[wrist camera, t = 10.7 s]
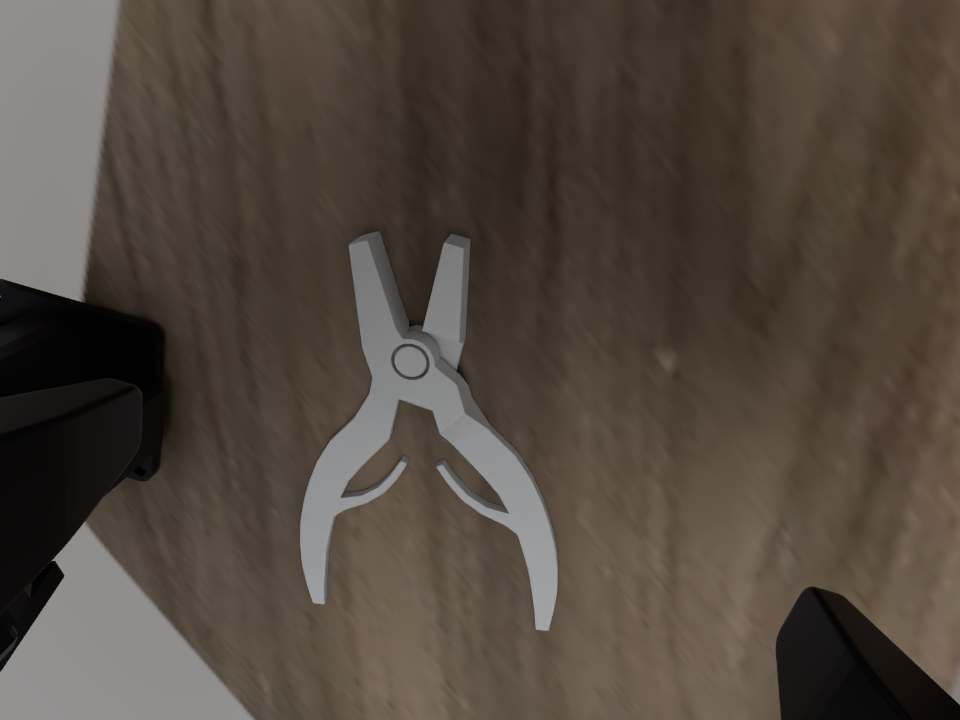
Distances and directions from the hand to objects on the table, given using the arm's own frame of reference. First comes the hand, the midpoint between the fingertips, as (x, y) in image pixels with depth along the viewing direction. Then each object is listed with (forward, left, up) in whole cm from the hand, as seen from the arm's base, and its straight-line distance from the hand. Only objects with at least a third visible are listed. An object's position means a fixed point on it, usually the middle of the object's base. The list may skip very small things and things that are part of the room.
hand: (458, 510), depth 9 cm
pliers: (-2, -8, -14) cm, 16 cm away
